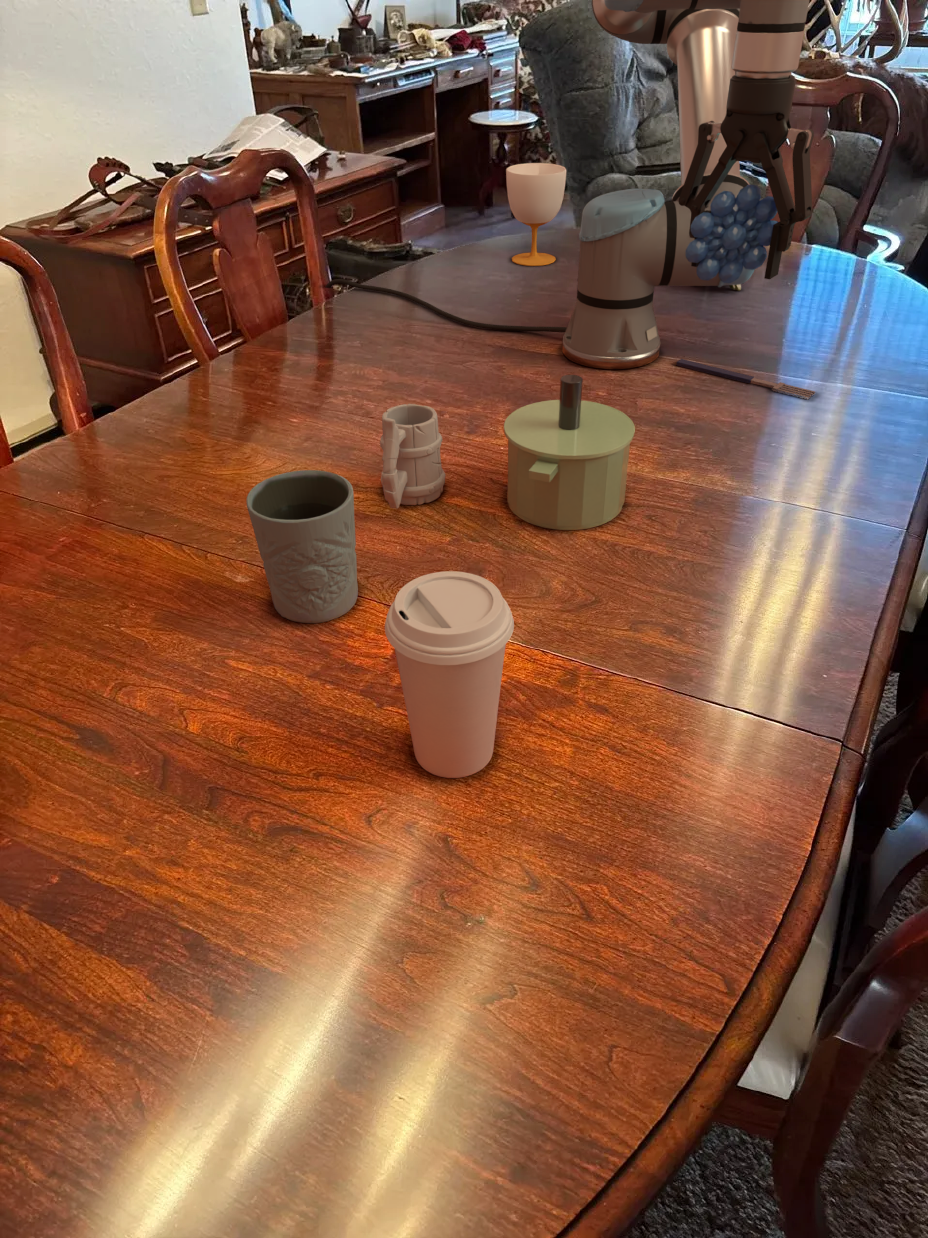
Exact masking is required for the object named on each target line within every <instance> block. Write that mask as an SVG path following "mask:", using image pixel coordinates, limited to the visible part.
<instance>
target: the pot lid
mask: <svg viewBox="0 0 928 1238" xmlns="http://www.w3.org/2000/svg"><path fill="white" fill-rule="evenodd" d="M559 381H560V383H559V399H549V400H543V401H538V402H533V403H530V404H527V405H524V406H521V407H519V408H517V409H516V410H513V411H512V412H511V413H510V414H509V415H508V416H507V417H506V418H505V420H504V423H503V433H504V436H505V438H506V439H507V441H508V440H509V441H510V442H511V443H512V444H513V445H515V446H516V447H518V448H520V449H522V450H524V451H526V452H529V453H532V454H535V455H538V456H543V457H548V458H555V459H572V460H575V459H590V458H596V457H602V456H606V455H609V454H612V453H615V452H617V451H619V450H621V449H623V448H625V447H626V446H627V445H628V444H630V445H631V442H632V441H633V440H634V438H635V434H636V427H635V426H636V425H635V424H634V422H633V420H632V419H631V417H629V416H628V415H627V414H626V413H624V412H623V411H621V410H620V409H617V408H615V407H613V406H610V405H607V404H605V403H604V404H603V403H599V402H595V401H590V400H582V396H583V383H584V382H583V381H584V379H583V377H582V376H580V375H576V374H566V375H565V374H564V375H562V376H561V377H560V379H559Z"/></svg>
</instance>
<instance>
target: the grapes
mask: <svg viewBox="0 0 928 1238" xmlns="http://www.w3.org/2000/svg"><path fill="white" fill-rule="evenodd" d="M761 198H762V191H761V188H760V187H759V186H758V185H757V184H750V185H747V186H746V187H744V188H742V189H741V190H740V191H739V193H738V195H737V197H736V198H735V195H734V194H733V193H732V192H730V191H723V192H721V193H719V194H718V195H716V196H715V197H714V199H713V201H712V203H711V205H710V210H711V213H708V212H703V213H701V214H700V215H698V216H696V217H695V219H694V220H693V222H692V224H691V233H692V235H693V236H694V237H697V239H695V240H693V241H692V242H690V243H689V245H688V247H687V249H686V251H685V252H686V258H687V260H688V261H689V262H693V263H698V262H700V261H701V262H700V263H699V265H698V267H697V276H698V277H699V279H700V280H710V279H712V278H714V277H715V276H716V275H717V273H718V272H719V279H720V280H721V281H722V282H723V283H732V282H734V281H735V280H737V279H738V278H739V277H740V275H741V273H742V271H743V266H744V268H745V269H749V270H754V271H755V270H757V269H758V268H760V267H762V266H763V265H764V263H765V261H766V260H767V259H768V251H767V248H766V247H770V242H771V236H772V230H773V225H774V224H776V223H778V222H779V221H778V220H773V219H774V218H775V217H776V216H777V215H778V212H777V208H776V205H775V202H774V198H773V195H771V196H770V195H769V196H764V198H762V199H761ZM759 200H760V201H759Z"/></svg>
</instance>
